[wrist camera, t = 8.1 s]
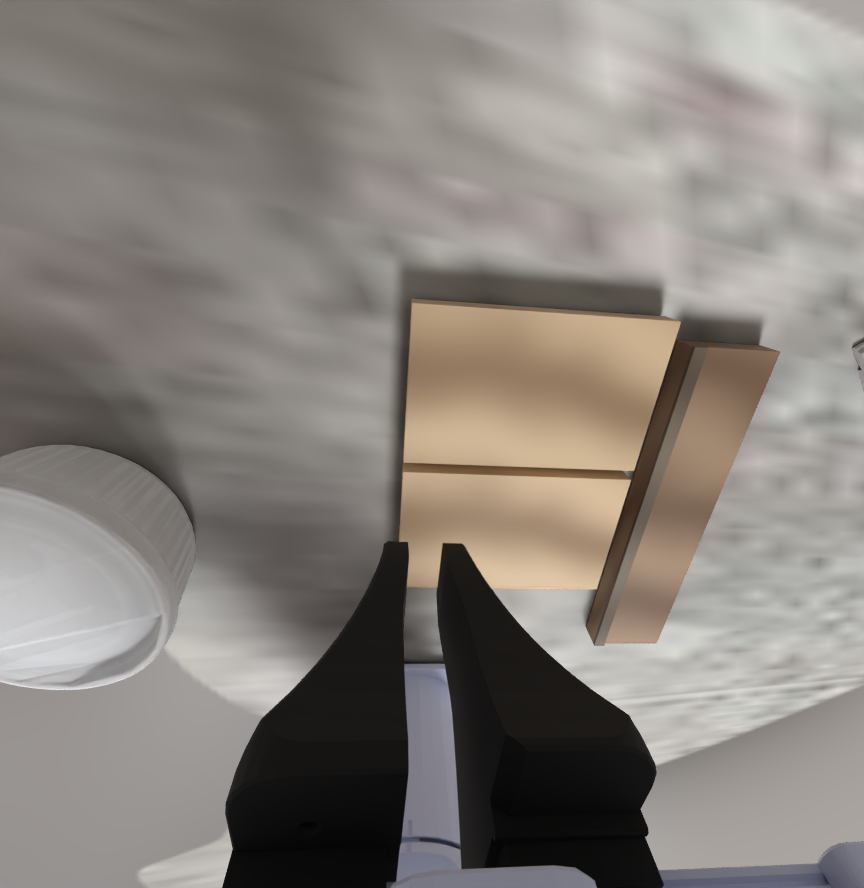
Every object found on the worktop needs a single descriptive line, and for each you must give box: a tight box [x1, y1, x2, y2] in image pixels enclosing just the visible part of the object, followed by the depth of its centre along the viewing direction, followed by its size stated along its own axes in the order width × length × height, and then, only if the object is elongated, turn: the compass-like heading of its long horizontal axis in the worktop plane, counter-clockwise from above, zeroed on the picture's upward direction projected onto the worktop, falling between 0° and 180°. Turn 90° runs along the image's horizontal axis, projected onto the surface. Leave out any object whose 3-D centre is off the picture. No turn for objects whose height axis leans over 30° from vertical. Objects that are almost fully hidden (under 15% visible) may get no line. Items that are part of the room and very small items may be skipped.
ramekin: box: [0, 445, 196, 690], centre depth 20 cm, size 11×11×5 cm
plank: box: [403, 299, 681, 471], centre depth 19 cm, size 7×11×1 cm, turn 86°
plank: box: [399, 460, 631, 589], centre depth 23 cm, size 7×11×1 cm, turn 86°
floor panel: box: [586, 340, 780, 646], centre depth 23 cm, size 18×4×1 cm, turn 176°
